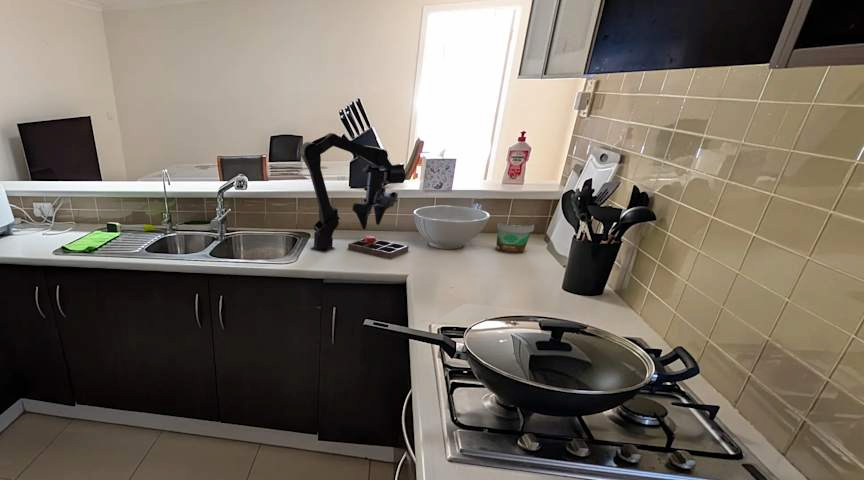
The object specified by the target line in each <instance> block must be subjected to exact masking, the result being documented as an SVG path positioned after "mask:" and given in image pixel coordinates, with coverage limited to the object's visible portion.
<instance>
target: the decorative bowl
mask: <svg viewBox="0 0 864 480" xmlns="http://www.w3.org/2000/svg"><path fill="white" fill-rule="evenodd" d="M489 219H490V214H489V212H487V211H484V210H482V209H479V208H475V207H467V206H459V205H430V206H424V207H423V206H422V207H419V208H417V209H414V211H413V220H414V223H415V226H416V228H417V230H418V232H419V233H420V236H421V237H423V238H424V239H425V240H426V241H427V242H428V244H429V246H431V247H432V248H437V249H442V250H443V249H444V250H456V249H461V248H462V247H464V244H466V243H468V242H470V241H472V240H473V239H474V238H476V237H477V236H478V235H479V234H480V233H481V232H482V231H483V230H484V228H485V226H486V225H487V224H488V221H489Z"/></svg>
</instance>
